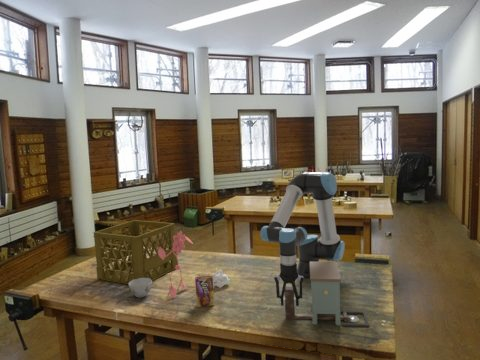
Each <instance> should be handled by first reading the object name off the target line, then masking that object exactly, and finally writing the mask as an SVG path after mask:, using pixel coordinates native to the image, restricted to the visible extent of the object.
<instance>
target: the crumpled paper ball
mask: <svg viewBox="0 0 480 360" xmlns="http://www.w3.org/2000/svg"><path fill="white" fill-rule="evenodd" d="M212 277H213V289H215V287H217V288H219V289H221V288H222V287H223V286H225V285H227V284H229V283H230V282H232V279H231V278H229V277H228V275H227V274H225V273H223V270H221V269H220V268H218V269H217V270H216V272H214V273H213V274H212Z"/></svg>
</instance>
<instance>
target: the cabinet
mask: <svg viewBox="0 0 480 360" xmlns="http://www.w3.org/2000/svg"><path fill="white" fill-rule="evenodd" d="M309 279H310V280H309V281H310V283H311V284H310V287H311V288H310V289H311V311H312V312H311V313H312V314H311V315H312V319H311V320H312V325H318V319H317V315H335V326H341V320H340V315H341V313H340V311H341V290H340V289H341V285H340V284H341V283H342V278H341V274H340V271H339V266H338V261H319V262H313V261H310V278H309Z"/></svg>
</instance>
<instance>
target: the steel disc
mask: <svg viewBox="0 0 480 360" xmlns="http://www.w3.org/2000/svg"><path fill="white" fill-rule="evenodd" d="M347 317H348V322H350V323H358V322H359V321H360V318H359V316H356V315H349V316H348V315H347Z"/></svg>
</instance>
